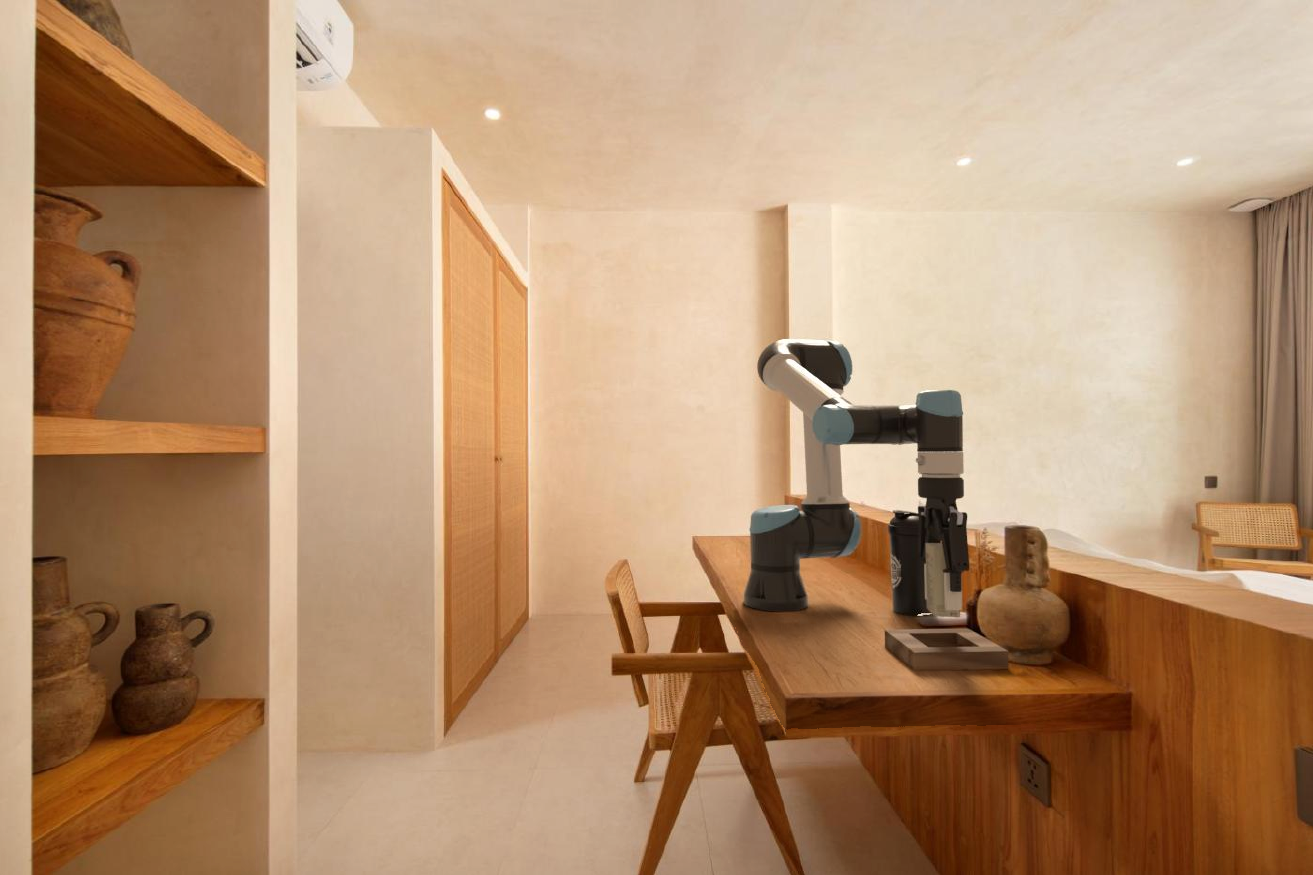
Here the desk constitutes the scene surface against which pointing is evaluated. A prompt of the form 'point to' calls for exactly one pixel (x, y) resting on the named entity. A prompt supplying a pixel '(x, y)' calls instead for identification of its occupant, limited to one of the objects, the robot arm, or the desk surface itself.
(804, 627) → the desk surface
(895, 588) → the water bottle
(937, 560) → the skincare box
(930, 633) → the socket stand
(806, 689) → the desk surface
